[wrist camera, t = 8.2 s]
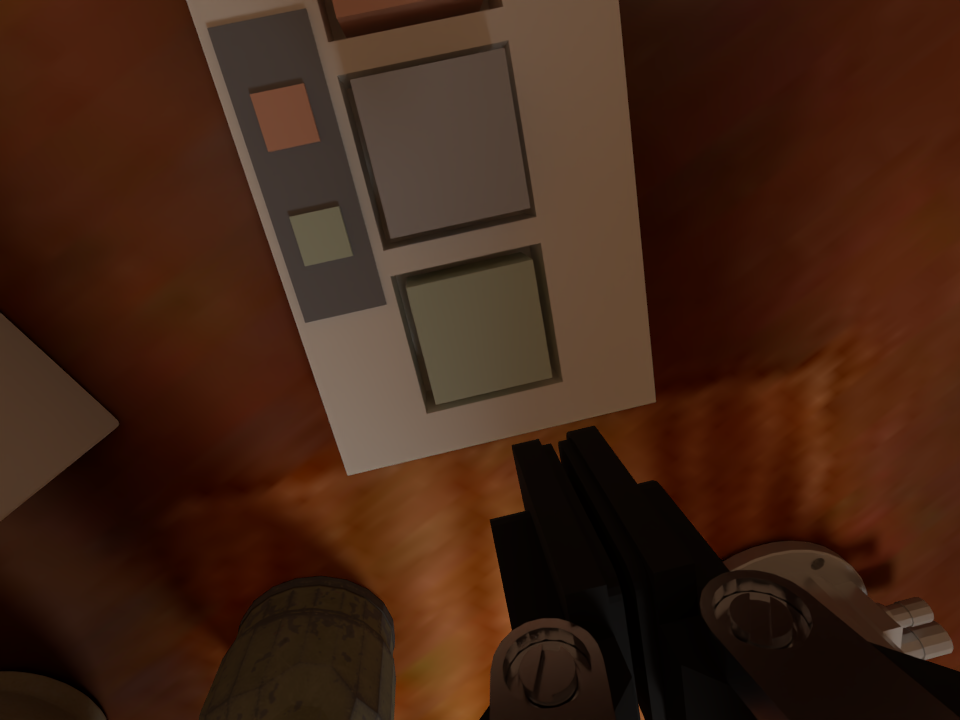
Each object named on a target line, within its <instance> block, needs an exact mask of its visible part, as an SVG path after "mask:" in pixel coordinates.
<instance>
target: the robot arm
mask: <svg viewBox="0 0 960 720" xmlns="http://www.w3.org/2000/svg"><path fill="white" fill-rule="evenodd" d="M558 446H559V452H560V458H561V462H560V460H559V458H558V456H557V454H556V452H555V450H554V448H553V446H552V445H551V444H546V445H541V443H540V441H539V439H536V440H532V441H528V442H523V443H519V444H515V445H512V450H513V455H514V460H515V465H516V470H517V475H518V479H519V484H520V489H521V494H522V498H523V503H524V508H525V511H523V512H519V513H515V514H511V515H507V516H502V517H498V518H494V519H490V523H491V528H492V533H493V538H494V543H495V548H496V553H497V558H498V563H499V568H500V573H501V578H502V583H503V588H504V593H505V598H506V603H507V608H508V613H509V618H510V623H511V627H512V631H511V632H510V633H509V634H508V635H507V636H506V637H505V638H504V639H503V640H502V641H501V643H500V645H499V646H498V648H497V650H496V652H495V654H494V656H493V661H492V667H491V677H490V705H489V707H488V708H487V710H486V711H485V712H484V714H483V715H482V717H481V718H480V720H640V713H639V706H640V709H641V711H642V713H643V716H644V718H645V720H960V672H959V671H956V670H953V669H950V668H947V667H944V666H941V665H938V664H935V663H932V662H929V661H926V659H930V658H934V657H937V656H941V655H945V654H949V653H952V650H953V644H952V640H951V638H950V637H949V635H948V633H947V632H946V631H945V630H944V628H943V627H942V626H941V625H940V624H938V623H937V622H935V621H934V620H933V619H934V616H933V612H932V610H931V608H930V606H929V605H928V604H927V603H926V602H925V601H924V600H922V599H921V598H919V597H913V598H909V599H905V600H901V601H898V602H895V603H894V604H891V605H887V606H884V605H882V604H880V603H875V602H874V601H873V600H872V599H871V598H869V597H868V596H867V590H866V588H865V585H864V583H863V580H862V578H861V577H860V575H859V574H858V573H857V572H856V570H855V569H854V568H853V567H852V566H851V565H850V564H849V563H848V562H846V561H845V560H844V559H843V558H842V557H841V556H839V555H838V554H837V553H835V552H833V551H832V550H830V549H828V548H826V547H824V546H821V545H818V544H814V543H811V542H803V541H781V542H772V543H768V544H764V545H760V546H756V547H752V548H750V549H747V550H745V551H743V552H740V553H738V554H735V555H733V556H732V557H730V558H728V559H727V560H725V561H723V562H722V561H721V559H720V558H719V557H718V556H717V555H716V553H715V552H714V551H713V550H712V548H711V547H710V546H709V545H708V543H707V542H706V541H705V540H704V538H703V537H702V536H701V535H700V533H699V532H698V531H697V530H696V528H695V527H694V526H693V525H692V524H691V522H690V521H689V520H688V519H687V517H686V516H685V515H684V514H683V512H682V511H681V510H680V509H679V507H678V506H677V505H676V504H675V502H674V501H673V500H672V499H671V497H670V496H669V495H668V494H667V493H666V491H665V490H664V489H663V488H662V486H661V485H660V484H659V483H658V482H657V481H654V480H652V481H647V482H643V483H639V484H637V483H636V482H635V480H634V479H633V477H632V476H631V475H630V473H629V472H628V471H627V469H626V468H625V466H624V465H623V464H622V462H621V461H620V460H619V458H618V457H617V456H616V454H615V453H614V451H613V450H612V449H611V447H610V446H609V445H608V443H607V442H606V440H605V439H604V438H603V436H602V435H601V434H600V432H599V431H598V429H597V428H596V427H595V426H591V427H587V428H582V429H578V430H574V431H570V432H567V440H563V441H559V443H558ZM638 704H639V706H638Z"/></svg>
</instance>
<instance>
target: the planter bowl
mask: <svg viewBox="0 0 960 720" xmlns="http://www.w3.org/2000/svg"><path fill="white" fill-rule="evenodd" d="M0 720H107V719H106V717H105V715H104V714H103V712H102V711H101V709H100V708H99V707H98V706H97V705H96V704H95V703H94V702H93V701H92V700H91V699H90V698H89V697H88V696H86V695H85V694H83V693H82V692H80V691H79V690H77V689H75V688H73V687H72V686H70V685H68V684H66V683H63V682H61V681H58V680H55V679H52V678H50V677H47V676H42V675H38V674H32V673H25V672H15V671H0Z"/></svg>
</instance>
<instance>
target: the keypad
mask: <svg viewBox="0 0 960 720" xmlns="http://www.w3.org/2000/svg"><path fill="white" fill-rule="evenodd" d="M186 1H187V4H188V7H189V10H190V13H191V16H192V19H193V22H194V25H195V28H196V31H197V33H198V36H199V39H200V42H201V45H202V48H203V51H204V54H205V57H206V60H207V63H208V66H209V69H210V72H211V75H212V78H213V81H214V84H215V86H216V89H217V92H218V95H219V98H220V101H221V104H222V107H223V110H224V113H225V116H226V119H227V122H228V125H229V128H230V131H231V134H232V136H233V139H234V142H235V145H236V148H237V151H238V154H239V157H240V160H241V163H242V166H243V169H244V172H245V175H246V178H247V181H248V184H249V187H250V189H251V192H252V195H253V198H254V201H255V204H256V207H257V210H258V213H259V216H260V219H261V222H262V225H263V228H264V231H265V234H266V237H267V240H268V242H269V245H270V248H271V251H272V254H273V257H274V260H275V263H276V266H277V269H278V272H279V275H280V278H281V281H282V284H283V287H284V290H285V293H286V295H287V298H288V301H289V304H290V307H291V310H292V313H293V316H294V319H295V322H296V325H297V328H298V331H299V334H300V337H301V340H302V343H303V346H304V348H305V351H306V354H307V357H308V360H309V363H310V366H311V369H312V372H313V375H314V378H315V381H316V384H317V387H318V390H319V393H320V396H321V399H322V401H323V404H324V407H325V410H326V413H327V416H328V419H329V422H330V425H331V428H332V431H333V434H334V437H335V440H336V443H337V446H338V449H339V451H340V454H341V457H342V460H343V463H344V466H345V469H346V472H347V475H353V474H357V473H361V472H365V471H369V470H374V469H378V468H382V467H386V466H390V465H395V464H399V463H403V462H407V461H411V460H416V459H420V458H424V457H428V456H432V455H436V454H441V453H445V452H449V451H453V450H457V449H462V448H466V447H470V446H474V445H478V444H483V443H487V442H491V441H495V440H499V439H504V438H508V437H512V436H516V435H520V434H524V433H529V432H533V431H537V430H541V429H545V428H550V427H554V426H558V425H562V424H566V423H571V422H575V421H579V420H583V419H587V418H592V417H596V416H600V415H604V414H608V413H612V412H617V411H621V410H625V409H629V408H633V407H638V406H642V405H646V404H650V403H654V402H656V396H655V385H654V374H653V363H652V353H651V342H650V331H649V320H648V310H647V299H646V288H645V278H644V267H643V256H642V245H641V235H640V224H639V213H638V202H637V192H636V181H635V170H634V160H633V149H632V138H631V127H630V117H629V106H628V95H627V84H626V74H625V63H624V52H623V41H622V31H621V20H620V9H619V0H483V2H482V5H481V8H480V11H479V12H475V13H470V14H465V15H460V16H455V17H450V18H446V19H441V20H436V21H431V22H426V23H421V24H416V25H411V26H406V27H401V28H396V29H392V30H387V31H382V32H377V33H372V34H367V35H362V36H357V37H352V38H346V36H345V34H344V32H343V30H342V28H341V26H340V24H339V22H338V20H337V18H336V14H335V10H334V6H333V2H332V0H186ZM501 48H505V55H506V61H507V67H508V73H509V79H510V85H511V91H512V98H513V104H514V110H515V116H516V122H517V128H518V134H519V141H520V147H521V153H522V159H523V165H524V171H525V177H526V184H527V190H528V196H529V202H530V208H529V209H524V210H520V211H515V212H511V213H506V214H502V215H497V216H492V217H488V218H483V219H479V220H474V221H470V222H465V223H461V224H456V225H452V226H447V227H443V228H438V229H434V230H429V231H424V232H420V233H415V234H411V235H406V236H402V237H397V238H393V239H391V238H390V234H389V230H388V226H387V222H386V218H385V214H384V210H383V207H382V203H381V199H380V195H379V191H378V187H377V183H376V179H375V176H374V172H373V168H372V164H371V160H370V156H369V152H368V148H367V145H366V141H365V137H364V133H363V129H362V125H361V121H360V118H359V114H358V110H357V106H356V102H355V98H354V94H353V90H352V87H351V83H350V80H351V79H356V78H361V77H366V76H370V75H375V74H380V73H385V72H390V71H394V70H399V69H404V68H409V67H414V66H419V65H423V64H428V63H433V62H438V61H443V60H448V59H452V58H457V57H462V56H467V55H472V54H477V53H481V52H486V51H491V50H496V49H501ZM518 252H522V253H523V254H525V255H526V256H528V257H529V258H531V259H532V260H533V264H534V270H535V276H536V282H537V288H538V294H539V300H540V306H541V312H542V318H543V324H544V330H545V336H546V342H547V348H548V354H549V360H550V366H551V372H552V378H548V379H544V380H540V381H536V382H531V383H527V384H523V385H518V386H514V387H510V388H506V389H501V390H497V391H493V392H489V393H484V394H480V395H476V396H472V397H467V398H463V399H459V400H455V401H450V402H446V403H442V404H437V405H436V404H435V400H434V396H433V392H432V388H431V384H430V380H429V376H428V372H427V369H426V365H425V361H424V357H423V353H422V349H421V345H420V341H419V337H418V333H417V330H416V326H415V322H414V318H413V314H412V310H411V306H410V302H409V298H408V294H407V291H406V283H407V277H411V276H415V275H419V274H424V273H428V272H433V271H437V270H442V269H446V268H451V267H455V266H460V265H464V264H469V263H473V262H478V261H482V260H486V259H491V258H495V257H500V256H504V255H509V254H513V253H518Z"/></svg>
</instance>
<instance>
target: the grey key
mask: <svg viewBox="0 0 960 720" xmlns="http://www.w3.org/2000/svg"><path fill="white" fill-rule="evenodd" d="M350 83H351V87H352V90H353V94H354V98H355V102H356V106H357V110H358V114H359V118H360V121H361V125H362V129H363V133H364V137H365V141H366V145H367V148H368V152H369V156H370V160H371V164H372V168H373V172H374V176H375V179H376V183H377V187H378V191H379V195H380V199H381V203H382V207H383V210H384V214H385V218H386V222H387V226H388V230H389V234H390V238H391V239H393V238H397V237H402V236H406V235H411V234H415V233H420V232H424V231H429V230H434V229H438V228H443V227H447V226H452V225H456V224H461V223H465V222H470V221H474V220H479V219H483V218H488V217H492V216H497V215H502V214H506V213H511V212H515V211H520V210H524V209H529V208H530V202H529V196H528V190H527V184H526V177H525V171H524V165H523V159H522V153H521V147H520V141H519V134H518V128H517V122H516V116H515V110H514V104H513V98H512V91H511V85H510V79H509V73H508V67H507V61H506V55H505V48H501V49H496V50H491V51H486V52H481V53H477V54H472V55H467V56H462V57H457V58H452V59H448V60H443V61H438V62H433V63H428V64H423V65H419V66H414V67H409V68H404V69H399V70H394V71H390V72H385V73H380V74H375V75H370V76H366V77H361V78H356V79H351V80H350Z"/></svg>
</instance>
